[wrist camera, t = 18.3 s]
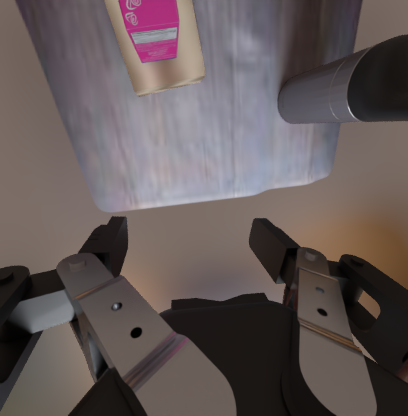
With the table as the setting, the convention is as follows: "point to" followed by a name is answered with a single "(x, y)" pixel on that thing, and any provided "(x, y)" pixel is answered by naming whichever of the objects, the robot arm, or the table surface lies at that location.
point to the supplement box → (152, 27)
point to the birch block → (164, 69)
